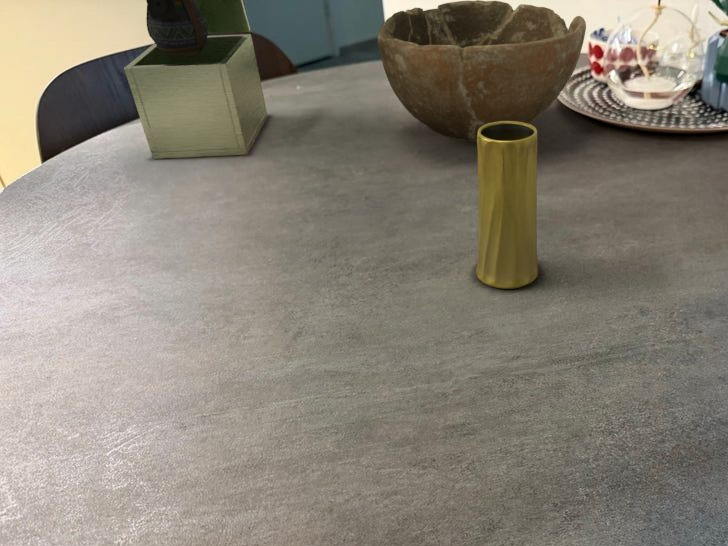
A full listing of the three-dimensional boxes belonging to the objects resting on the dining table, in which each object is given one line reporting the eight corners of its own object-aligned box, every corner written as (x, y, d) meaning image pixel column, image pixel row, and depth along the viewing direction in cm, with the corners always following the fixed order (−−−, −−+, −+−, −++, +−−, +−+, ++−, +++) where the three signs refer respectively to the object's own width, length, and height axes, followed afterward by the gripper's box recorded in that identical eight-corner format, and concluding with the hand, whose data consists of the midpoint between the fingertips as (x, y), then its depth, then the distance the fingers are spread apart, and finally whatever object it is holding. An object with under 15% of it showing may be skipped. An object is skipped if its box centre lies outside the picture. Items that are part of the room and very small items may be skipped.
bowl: (511, 91, 115) (511, -10, 106) (617, 140, 97) (628, 23, 88) (356, 124, 104) (342, 14, 95) (442, 186, 86) (435, 57, 77)
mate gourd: (225, 48, 93) (205, -37, 87) (184, 63, 88) (160, -27, 82) (183, 43, 96) (161, -40, 90) (141, 57, 90) (115, -30, 84)
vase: (480, 257, 72) (477, 118, 63) (540, 259, 71) (545, 119, 62) (472, 288, 67) (466, 142, 58) (535, 291, 66) (540, 144, 58)
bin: (247, 154, 96) (226, 63, 89) (152, 159, 95) (123, 68, 88) (268, 116, 108) (250, 34, 101) (184, 120, 108) (161, 37, 101)
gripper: (119, -165, 85) (163, -1, 96) (60, -162, 71) (119, 29, 82) (182, -166, 85) (219, -3, 96) (135, -164, 71) (184, 26, 82)
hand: (173, 10), depth 89 cm, fingers closed on mate gourd, 6 cm apart
